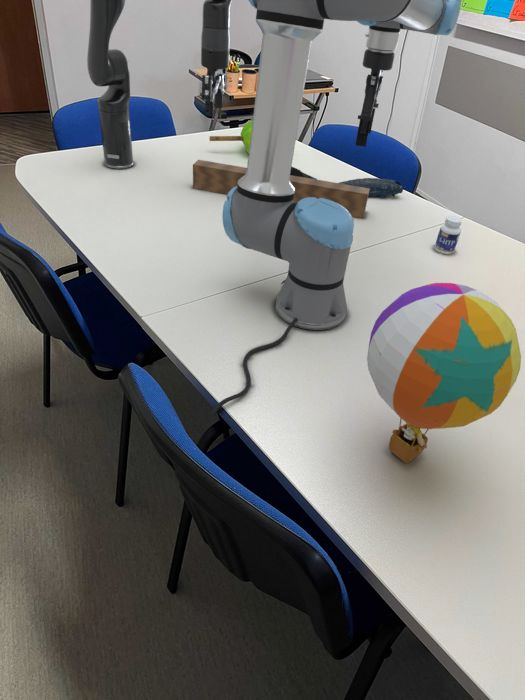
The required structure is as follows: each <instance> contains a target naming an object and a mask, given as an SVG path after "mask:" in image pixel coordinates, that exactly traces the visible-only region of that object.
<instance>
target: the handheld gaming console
mask: <svg viewBox="0 0 525 700" xmlns="http://www.w3.org/2000/svg"><path fill="white" fill-rule="evenodd" d="M290 175H292V176H298V177H304V178H310V179H316V180H318V178H316V177H313V176H311V175H309V174H307V173H305V172H303V171H302V170H301V169H298V168H296V167H294V166H291V172H290Z"/></svg>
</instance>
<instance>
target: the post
mask: <svg viewBox="0 0 525 700" xmlns="http://www.w3.org/2000/svg"><path fill="white" fill-rule="evenodd" d="M246 173H247V167H244V166H240V165H239V166H238V165H233V164H226V163H221V162H214V161H208V160H202V159H197V160H196V161H195V162H194V163H192V188H193V189H196V190H200V191H201V190H202V191H207V192H213V193H217V194H223V195H228V193H229V192H230V190H231V189H232V188H234V187H236V186H237V185H238V180H239V179H240V178H242V177H243V176H244V175H245V174H246ZM316 179H317V178H316ZM316 179H310V178H304V177H298V176H292V175H290V178H289V180H290V182H291V184H292V185H293V186H294V188H295V195H294V202H297V203H298V202H299V201H300V200H301V199H304V198H308V197H315V198H317V199H319V198H324V199H328V200H331V201H333V202H335V203H338V204H340V205H341V206H343V207H344V208H345V209H346V210H348V211H349V213H350V215H351V216H352V218H358V219H364V218H365V214H366V209H367V204H368V199H369V196H368V195H369V191H370V188H364V187H358V186H352V185H346V184H340V183H339V182H334V181H328V180H321V179H317V180H316Z"/></svg>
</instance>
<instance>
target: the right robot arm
mask: <svg viewBox="0 0 525 700" xmlns="http://www.w3.org/2000/svg"><path fill="white" fill-rule="evenodd" d="M248 2H249V4H250V5H251V6H252V7H253V8H254V9H256V14H255V23H256V24H257V26H258V27H259V29H260V31H261V33H262V39H261V46H260V47H261V48H260V55H259V64H258V72H257V81H256V89H255V97H254V106H253V115H252V120H253V122H252V131H251V139H250V148H249V153H248V157H247V165H246V168H247V173H246V174H245V175H244V176H243V177H242V178H240V179H239V180H238V185H237V186H236V187H234V188H232V189H231V190H230V192H229V193H228V194H226V200H224V203H223V206H222V213H221V214H222V218H221V219H222V226H223V229H224V233H225V235H226V236H227V237H228V238H229V240H230V241H232V242H234V243H235V244H238V245H240V246H242V247H243V248H245V249H249V250H253V251H256V252H258V253H262V254H265V255H268V256H271V257H273V258H277V259H280V260H283V261H285V262H288V263H289V264H288V270H287V271H288V272H287V275H286V278H285V279H284V280H282V281H281V282H280V283H281V284H280V285H281V287H280V290H279V291H278V294H277V296H276V300H275V311H276V313H277V315H278V316H279V317H280V318H281V319H282V320H283V321H284V322H286V323H287V324H289V325H288V326H287V327H286V329H285V331H284V333H283V334H282V335H281V337H280V338H278V339H277V340H275V341H273V342H271V343H268V344H264V345H260V346H257V347H254V348H252V349H251V350H249V351H248V352H247V353H246V354H245V355H244V356H243V357H244V358H243V361H242V367H243V371H244V374H245V377H246V384H245V386H244V388H243V389H242V390H241V391H240V392H238V393H236V394H233V395H230V396H228V397H226V398H224V399H222V400H221V401H219V402H218V403H217V404H216V405H215V406H214V408H213V409H212V411H211V412H210V416H211V417H214V416H216V414H217V413H218V411H219V410H220V409H221V408H222V407H223V406H224V405H225V404H227V403H229V402H232V401H234V400H237V399H239V398H242V397H243V396H245V395H246V394H247V393H248V391H249V389H250V387H251V384H252V378H251V374H250V371H249V367H248V359H250V357H251V356H252V355H253V354H255V353H257V352H259V351H262V350H265V349H269V348H273V347H275V346H277V345H279V344H281V343H282V342H283V341H284V340H285V339H286V338H287V336H288V335H289V333H290V331H291V330H292V328H293V327H296V328H300V329H304V330H310V331H324V330H325V331H326V330H329V329H333V328H336V327H337V326H339V325H340V324H342V323H343V322H344V320H345V318H346V315H347V310H348V307H347V306H348V305H347V297H346V292H345V286H344V280H345V275H346V271H347V267H348V261H349V257H350V253H351V252H350V251H351V246H352V244H353V240H354V239H353V238H354V235H353V234H354V228H355V221H354V217H353V216H351V215H350V213H349V211H348V210H346V209H345V208H344V207H343V206H341V205H340V204H338V203H335V202H333V201H331V200H328V199H324V198H319V199H317V198H315V197H308V198H304V199H301V200H300V201H299V202H298V203H297V202H294V195H295V188H294V186H293V185H292V184H291V182H290V180H289V178H290V172H291V166H292V165H293V160H294V153H295V148H296V147H295V146H296V142H297V141H296V139H297V134H298V129H299V122H300V116H301V110H302V104H303V97H304V91H305V85H306V79H307V74H308V67H309V66H308V65H309V60H310V54H311V48H312V42H313V41H314V40H315V39H316V38H317V37H318V36H319V35H320V34H321V33H323V29H324V23H325V20H330V21H341V22H342V21H343V22H357V23H359V24H360V25H362V26H366V27H367V26H368V32H366V33H364V34H365V35H364V36H365V38H367V39H366V42H365V43H366V44H365V47H366V48H367V49H365V50H364V54H363V58H362V59H363V60H362V66H363V67H364V68H365V69H370V70H371V71H370V74H367V76H366V80H365V88H364V98H363V104H362V108H361V112H360V114H358V115H357V120H359V123H358V127H357V132H356V133H357V135H356V138H355V139H356V140H355V145H354V146H358V147H364V148H366V147H367V141H368V138H369V134H371V133H372V128H373V123H374V118H375V112H376V109H378V108H379V103H378V96H379V92H380V91H381V86H382V84H383V80H384V76H383V75H382V74H383V72H384V71H385V72H386V71H391V70H392V69H393V66H394V61H395V57H396V53H395V51H396V50H397V48H398V44H399V39H400V34H401V30H404V31H405V30H406V31H411V32H419V33H423V34H430V35H434V36H438V35H439V36H449V35H451V34H452V33H453V31H454V30H455V28H456V25H457V22H458V20H459V16H460V12H461V7H462V0H248ZM292 167H293V166H292Z"/></svg>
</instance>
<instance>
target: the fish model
mask: <svg viewBox="0 0 525 700" xmlns="http://www.w3.org/2000/svg"><path fill="white" fill-rule="evenodd" d="M338 183H340V184H346V185H352V186H358V187H364V188H370V191H369V195H368V197H379V198H380V197H381V198H386V197H388V196H391V197H396V196H397V195H399V194H402V193H403V191H404V187H403V185H402V182H401V181H397V180H393V179H388V178H379V177H364V178H354V179H348V180H344V181H340V182H338Z"/></svg>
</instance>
